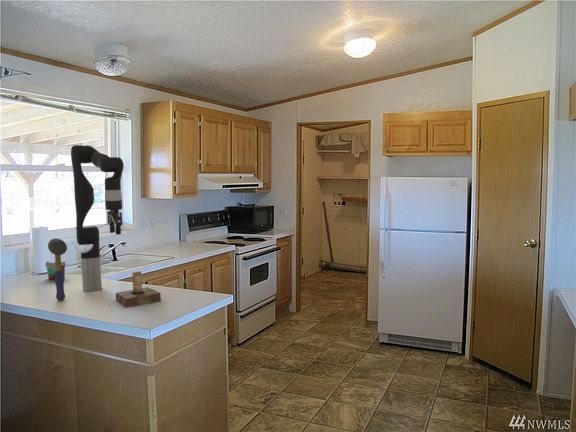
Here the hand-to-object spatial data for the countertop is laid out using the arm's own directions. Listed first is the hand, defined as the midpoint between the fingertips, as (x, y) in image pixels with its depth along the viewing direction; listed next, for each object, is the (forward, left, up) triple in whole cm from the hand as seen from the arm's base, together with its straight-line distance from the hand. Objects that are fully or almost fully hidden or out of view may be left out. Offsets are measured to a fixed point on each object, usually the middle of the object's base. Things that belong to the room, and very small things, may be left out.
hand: (115, 233), depth 224 cm
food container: (-72, -14, -32) cm, 80 cm away
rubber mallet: (-18, -22, -32) cm, 43 cm away
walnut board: (+10, +6, -32) cm, 34 cm away
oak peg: (+9, +6, -32) cm, 34 cm away
